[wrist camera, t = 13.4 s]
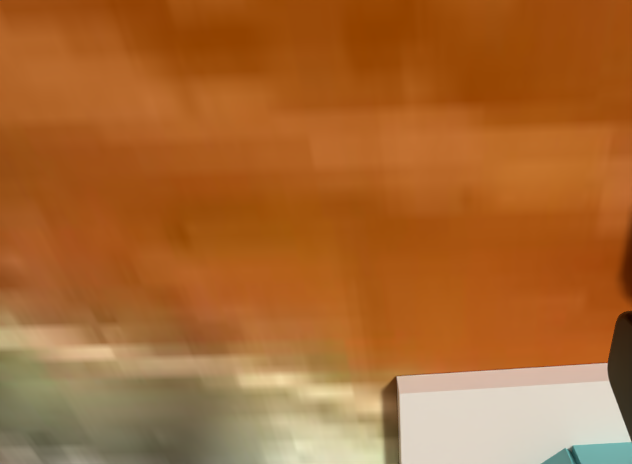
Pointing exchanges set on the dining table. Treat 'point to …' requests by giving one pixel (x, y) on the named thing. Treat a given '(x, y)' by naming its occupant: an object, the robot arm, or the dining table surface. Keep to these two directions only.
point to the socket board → (512, 417)
